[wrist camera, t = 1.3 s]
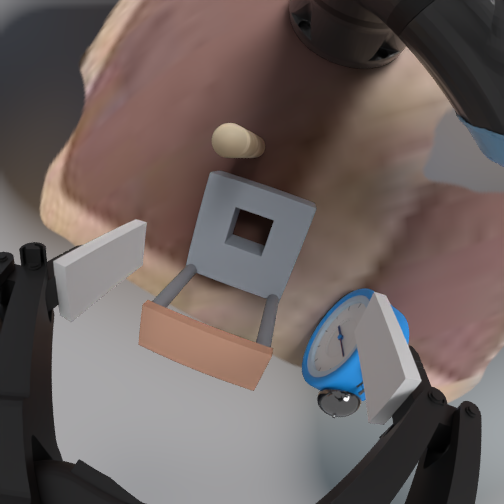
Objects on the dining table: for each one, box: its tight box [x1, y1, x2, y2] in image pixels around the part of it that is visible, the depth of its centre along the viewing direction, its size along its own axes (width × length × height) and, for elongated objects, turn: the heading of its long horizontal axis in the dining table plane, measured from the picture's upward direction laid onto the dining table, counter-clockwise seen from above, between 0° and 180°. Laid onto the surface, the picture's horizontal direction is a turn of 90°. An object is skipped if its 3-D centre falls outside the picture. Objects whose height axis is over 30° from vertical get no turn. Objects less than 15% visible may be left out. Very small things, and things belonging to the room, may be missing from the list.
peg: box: [212, 123, 265, 158], centre depth 26 cm, size 3×3×12 cm
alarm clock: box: [302, 288, 409, 418], centre depth 30 cm, size 13×6×15 cm, turn 146°
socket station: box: [139, 171, 317, 391], centre depth 29 cm, size 16×12×15 cm
